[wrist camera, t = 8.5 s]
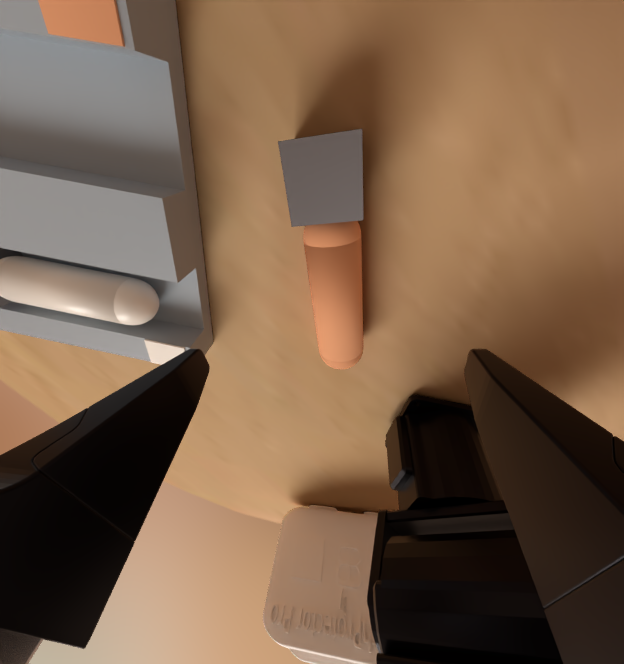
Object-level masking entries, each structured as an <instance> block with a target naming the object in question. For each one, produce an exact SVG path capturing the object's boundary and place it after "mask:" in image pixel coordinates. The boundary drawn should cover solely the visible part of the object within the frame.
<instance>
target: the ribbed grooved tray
mask: <svg viewBox="0 0 624 664" xmlns="http://www.w3.org/2000/svg"><path fill="white" fill-rule="evenodd" d="M0 248H4V249H9V250H14V251H19V252H21V253H22V255H23V256H24V257H29V258H34V259H40V260H45V261H50V262H55V263H60V264H65V265H70V266H75V267H80V268H85V269H90V270H95V271H100V272H105V273H110V274H116V275H121V276H126V277H131V278H136V279H139V280H142V281H144V282H146V283H148V284H149V285H150V286H152V287H153V288H154V290H155V291H156V293H157V295H158V298H159V309H158V311H157V313H156V315H155V316H154V317H153V318H152V319H151V320H149V321H148V322H146V323H143V324H140V325H125V324H120V323H115V322H110V321H105V320H100V319H95V318H90V317H86V316H81V315H76V314H71V313H66V312H61V311H56V310H51V309H46V308H42V307H37V306H32V305H27V304H22V303H17V302H13V301H12V302H10V303H8V304H6V305H4V306H2V307H0V330H3V331H8V332H13V333H17V334H22V335H27V336H32V337H36V338H41V339H46V340H51V341H55V342H60V343H65V344H70V345H74V346H79V347H84V348H89V349H93V350H98V351H103V352H108V353H112V354H117V355H122V356H127V357H131V358H136V359H141V360H146V361H150V362H151V363H156V364H161V365H162V364H164V363H166V362H167V361H169V360H171V359H173V358H174V357H176V356H178V355H180V354H181V353H183V352H185V351H186V350H188V349H201V350H202V351H203V353H204V355H205V354H206V353H207V351H208V350H209V348H210V347H211V345H212V344H213V334H212V325H211V316H210V307H209V298H208V289H207V280H206V271H205V262H204V253H203V244H202V235H201V226H200V217H199V208H198V199H197V190H196V181H195V172H194V163H193V154H192V145H191V136H190V127H189V118H188V109H187V100H186V91H185V82H184V73H183V64H182V55H181V46H180V37H179V28H178V19H177V10H176V1H175V0H0Z"/></svg>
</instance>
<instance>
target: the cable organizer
mask: <svg viewBox="0 0 624 664" xmlns="http://www.w3.org/2000/svg"><path fill="white" fill-rule="evenodd" d="M377 517H378V513H375V512H364V514H357V513H349V512H341V511H337V509H336V508H334V507H327V506H319V505H310V506H309V507H297V508H294V509H292V510H290V511H289V512H288V513H287V514H286V515H285V516H284V518H283V520H282V525H281V529H280V534H279V540H278V544H277V549H276V554H275V558H274V563H273V568H272V573H271V578H270V583H269V587H268V592H267V597H266V602H265V607H264V612H263V622H264V626H265V629H266V631H267V633H268V634H269V636H270V637H271V638H272V639H273V640H274V641H275V642H277V643H278V644H279V645H281V646H283V647H286V648H289V649H290V651H291V652H292V654H293V655H294V656H295V657H297V658H298V659H300V660H301V661H304V662H308V663H312V664H377V662H376V657H377V653H379V652H378V649H377V647H376V644H375V641H374V637H373V633H372V629H371V623H370V616H369V608H368V605H367V593H368V585H369V577H370V570H371V562H372V554H373V546H374V538H375V530H376V525H377Z"/></svg>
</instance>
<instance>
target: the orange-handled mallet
mask: <svg viewBox="0 0 624 664" xmlns="http://www.w3.org/2000/svg"><path fill="white" fill-rule="evenodd" d="M278 144H279V150H280V156H281V163H282V169H283V175H284V181H285V187H286V194H287V200H288V206H289V212H290V219H291V225H292V227H295V226H305V229H304V235H303V237H304V247H305V254H306V261H307V268H308V276H309V283H310V290H311V297H312V304H313V311H314V318H315V325H316V332H317V339H318V347H319V352H320V356H321V357H322V359H323V361H324V362H325V363H326V364H327V365H329V366H330V367H333V368H335V369H347V368H350V367H352V366H354V365H355V364H356V363H357V362H358V361H359V360H360V358H361V356H362V353H363V303H362V249H361V229H360V226H359V223H358V221H361V220H363V149H362V129H356V130H350V131H343V132H337V133H330V134H324V135H317V136H311V137H304V138H298V139H291V140H285V141H278Z"/></svg>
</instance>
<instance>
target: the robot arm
mask: <svg viewBox="0 0 624 664" xmlns="http://www.w3.org/2000/svg"><path fill="white" fill-rule="evenodd" d="M208 373H209V364H208V362H207V360H206V358H205V355H204V353H203V351H202V350H201V349H188V350H186V351H185V352H183V353H181V354H180V355H178V356H176V357H174V358H173V359H171V360H169V361H167V362H166V363H164V364H162V365H161V366H159V367H157V368H155V369H154V370H152V371H150V372H149V373H147V374H145V375H143V376H142V377H140V378H138V379H136V380H135V381H133V382H131V383H130V384H128V385H126V386H124V387H123V388H121V389H119V390H117V391H116V392H114V393H112V394H111V395H109V396H107V397H105V398H104V399H102V400H100V401H98V402H97V403H95V404H93V405H92V406H90V407H89V408H86V409H85V410H83V411H81V412H79V413H78V414H76V415H74V416H72V417H71V418H69V419H67V420H65V421H64V422H62V423H60V424H58V425H57V426H55V427H53V428H51V429H49V430H47V431H45V432H44V433H42V434H40V435H38V436H36V437H34V438H32V439H31V440H28V441H27V442H25V443H23V444H21V445H19V446H17V447H15V448H13V449H11V450H9V451H8V452H6V453H4V454H2V455H0V664H28V663H29V661H30V660H31V658H32V657H33V655H34V653H35V652H36V650H37V649H38V647H39V645H40V644H41V642H42V641H43V639H45V640H49V641H53V642H57V643H62V644H66V645H70V646H74V647H78V648H82V649H84V648H85V647H86V645H87V644H88V642H89V640H90V638H91V636H92V634H93V632H94V629H95V627H96V625H97V623H98V621H99V619H100V616H101V614H102V612H103V610H104V608H105V605H106V603H107V601H108V599H109V597H110V595H111V593H112V590H113V588H114V586H115V584H116V582H117V580H118V577H119V575H120V573H121V571H122V569H123V566H124V564H125V562H126V560H127V558H128V556H129V553H130V551H131V549H132V547H133V545H134V541H135V540H136V538H137V536H138V534H139V532H140V529H141V527H142V525H143V523H144V521H145V518H146V516H147V514H148V512H149V510H150V508H151V506H152V503H153V501H154V499H155V497H156V495H157V493H158V491H159V488H160V486H161V484H162V482H163V480H164V478H165V475H166V473H167V471H168V469H169V467H170V465H171V462H172V460H173V458H174V456H175V454H176V452H177V449H178V447H179V445H180V443H181V441H182V439H183V436H184V434H185V432H186V430H187V428H188V426H189V423H190V421H191V419H192V417H193V415H194V413H195V410H196V408H197V405H198V403H199V400H200V397H201V394H202V391H203V388H204V385H205V382H206V379H207V376H208ZM464 375H465V380H466V385H467V389H468V393H469V398H470V402H471V406H469V405H464V404H459V403H454V402H450V401H445V400H440V399H435V398H430V397H425V396H421V395H412V396H410V397H409V399H408V401H407V402H406V404H405V406H404V408H403V410H402V411H401V413H400V415H398V416H397V417H396V418H395V420H394V421H393V423H392V425H391V427H390V429H389V431H388V432H387V434H386V440H385V445H386V448H387V456H388V469H389V482H390V486H391V488H392V489H393V490H396V491H398V500H399V510H397V511H388V510H381V511H378V517H377V525H376V530H375V538H374V546H373V554H372V562H371V570H370V577H369V585H368V593H367V605H368V608H369V616H370V623H371V629H372V633H373V637H374V641H375V644H376V647H377V649H378V652H379V653H377V657H376V662H377V664H624V441H622V440H621V439H619V438H618V437H616V436H614V437H613V435H612V433H610V432H609V431H607V430H606V429H604V428H603V427H601V426H600V425H598V424H597V423H595V422H594V421H592V420H591V419H589V418H588V417H586V416H585V415H583V414H582V413H580V412H579V411H577V410H576V409H575V408H573V407H572V406H570V405H569V404H567V403H566V402H564V401H563V400H561V399H560V398H558V397H557V396H555V395H554V394H552V393H551V392H549V391H548V390H546V389H545V388H543V387H542V386H540V385H539V384H537V383H536V382H534V381H533V380H531V379H530V378H529V377H527V376H526V375H524V374H523V373H521V372H520V371H518V370H517V369H515V368H514V367H512V366H511V365H509V364H508V363H506V362H505V361H503V360H502V359H500V358H499V357H497V356H496V355H494V354H493V353H491V352H490V351H488V350H486V349H472V350H470V352H469V354H468V358H467V362H466V365H465V369H464Z"/></svg>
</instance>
